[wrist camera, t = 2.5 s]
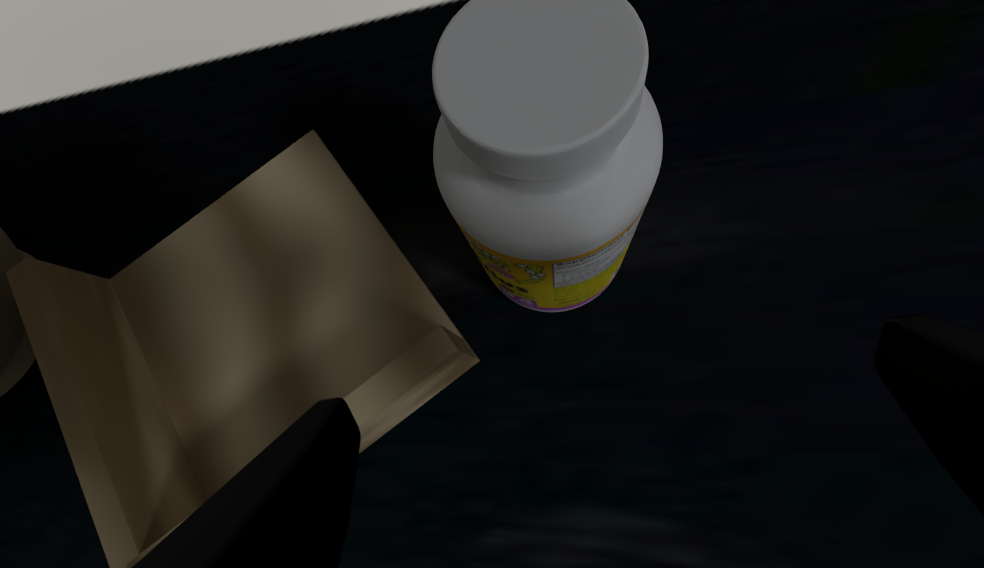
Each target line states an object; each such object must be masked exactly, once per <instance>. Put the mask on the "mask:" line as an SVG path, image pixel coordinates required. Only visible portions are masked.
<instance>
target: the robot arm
mask: <svg viewBox="0 0 984 568" xmlns="http://www.w3.org/2000/svg"><path fill="white" fill-rule="evenodd" d="M874 363H875V368H876V370H877V372H878V374H879V376H880V377H881V379H882V380H883V382H884V383H885V385H886V386H887V388H888V389H889V390H890V392H891V393H892V395H893V396H894V398H895V399H896V401H897V402H898V404H899V405H900V406H901V408H902V409H903V411H904V412H905V414H906V415H907V417H908V418H909V420H910V421H911V422H912V424H913V425H914V427H915V428H916V430H917V431H918V433H919V434H920V436H921V437H922V439H923V440H924V441H925V443H926V444H927V446H928V447H929V449H930V450H931V451H932V453H933V454H934V455H935V457H936V458H937V459H938V461H939V462H940V463H941V465H942V466H943V467H944V468H945V470H946V471H947V472H948V473H949V475H950V476H951V477H952V478H953V479H954V481H955V482H956V483H957V484H958V485H959V487H960V488H961V489H962V490H963V491H964V493H965V494H966V495H967V496H968V497H969V499H970V500H971V501H972V502H973V503H974V505H975V506H976V507H977V508H978V509H979V511H980V512H981V513H982V514H983V515H984V333H982V332H979V331H976V330H973V329H969V328H966V327H963V326H959V325H956V324H953V323H949V322H946V321H943V320H939V319H936V318H933V317H930V316H926V315H922V314H912V315H905V316H898V317H893V318H890V319H888V320H887V321H886V322H885V323H884V325H883V328H882V332H881V335H880V339H879V343H878V346H877V350H876V353H875V358H874ZM360 442H361V434H360V429H359V427H358V425H357V423H356V421H355V418H354V416H353V414H352V412H351V410H350V408H349V406H348V404H347V403H346V401H345V400H344V399H343V398H340V397H336V398H329V399H322V400H320V401H318V402H316V403H315V404H314V405H313V406H312V407H311V408H310V409H309V410H307V411H306V412H305V413H304V414H303V415H302V416H301V417H300V418H298V419H297V420H296V421H295V422H294V423H293V424H292V425H291V426H290V427H288V428H287V429H286V430H285V431H284V432H283V433H282V434H281V435H279V436H278V437H277V438H276V439H275V440H274V441H273V442H272V443H271V444H269V445H268V446H267V447H266V448H265V449H264V450H263V451H262V452H260V453H259V454H258V455H257V456H256V457H255V458H254V459H253V460H252V461H250V462H249V463H248V464H247V465H246V466H245V467H244V468H243V469H241V470H240V471H239V472H238V473H237V474H236V475H235V476H234V477H232V478H231V479H230V480H229V481H228V482H227V483H226V484H225V485H224V486H222V487H221V488H220V489H219V490H218V491H217V492H216V493H215V494H213V495H212V496H211V497H210V498H209V499H208V500H207V501H206V502H204V503H203V504H202V505H201V506H200V507H199V508H198V509H197V510H196V511H194V512H193V513H192V514H191V515H190V516H189V517H188V518H187V519H185V520H184V521H183V522H182V523H181V524H180V525H179V526H178V527H176V528H175V529H174V530H173V531H172V532H171V533H170V534H169V535H168V536H166V537H165V538H164V539H163V540H162V541H161V542H160V543H159V544H157V545H156V546H155V547H154V548H153V549H152V550H151V551H150V552H148V553H147V554H146V555H145V556H144V557H143V558H142V559H141V560H140V561H138V562H137V563H136V564H135V565H134V566H133V567H132V568H338V566H339V562H340V558H341V554H342V550H343V546H344V542H345V538H346V533H347V529H348V524H349V518H350V512H351V506H352V499H353V492H354V485H355V478H356V471H357V464H358V457H359V450H360Z"/></svg>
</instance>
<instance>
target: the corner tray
mask: <svg viewBox="0 0 984 568" xmlns="http://www.w3.org/2000/svg"><path fill="white" fill-rule="evenodd" d="M6 275H7V278H8V280H9V283H10V286H11V289H12V292H13V295H14V297H15V300H16V303H17V306H18V309H19V312H20V314H21V317H22V320H23V323H24V326H25V329H26V331H27V334H28V337H29V340H30V343H31V346H32V348H33V351H34V354H35V357H36V360H37V363H38V365H39V368H40V371H41V374H42V377H43V379H44V382H45V385H46V388H47V391H48V394H49V396H50V399H51V402H52V405H53V408H54V411H55V413H56V416H57V419H58V422H59V425H60V428H61V430H62V433H63V436H64V439H65V442H66V445H67V447H68V450H69V453H70V456H71V459H72V461H73V464H74V467H75V470H76V473H77V476H78V478H79V481H80V484H81V487H82V490H83V493H84V495H85V498H86V501H87V504H88V507H89V510H90V512H91V515H92V518H93V521H94V524H95V527H96V529H97V532H98V535H99V538H100V541H101V544H102V546H103V549H104V552H105V555H106V558H107V560H108V563H109V566H110V568H132V567H133V566H134V565H135V564H136V563H137V562H138V561H140V560H141V559H142V558H143V557H144V556H145V555H146V554H147V553H148V552H150V551H151V550H152V549H153V548H154V547H155V546H156V545H157V544H159V543H160V542H161V541H162V540H163V539H164V538H165V537H166V536H168V535H169V534H170V533H171V532H172V531H173V530H174V529H175V528H176V527H178V526H179V525H180V524H181V523H182V522H183V521H184V520H185V519H187V518H188V517H189V516H190V515H191V514H192V513H193V512H194V511H196V510H197V509H198V508H199V507H200V506H201V505H202V504H203V503H204V502H206V501H207V500H208V499H209V498H210V497H211V496H212V495H213V494H215V493H216V492H217V491H218V490H219V489H220V488H221V487H222V486H224V485H225V484H226V483H227V482H228V481H229V480H230V479H231V478H232V477H234V476H235V475H236V474H237V473H238V472H239V471H240V470H241V469H243V468H244V467H245V466H246V465H247V464H248V463H249V462H250V461H252V460H253V459H254V458H255V457H256V456H257V455H258V454H259V453H260V452H262V451H263V450H264V449H265V448H266V447H267V446H268V445H269V444H271V443H272V442H273V441H274V440H275V439H276V438H277V437H278V436H279V435H281V434H282V433H283V432H284V431H285V430H286V429H287V428H288V427H290V426H291V425H292V424H293V423H294V422H295V421H296V420H297V419H298V418H300V417H301V416H302V415H303V414H304V413H305V412H306V411H307V410H309V409H310V408H311V407H312V406H313V405H314V404H315V403H316V402H318V401H320V400H322V399H329V398H336V397H340V398H343V399H344V400H345V401H346V403H347V404H348V406H349V408H350V410H351V412H352V414H353V416H354V418H355V421H356V423H357V425H358V427H359V429H360V434H361V442H360V450H359V453H361V452H362V451H363V450H364V449H366V448H367V447H368V446H370V445H371V444H372V443H374V442H375V441H376V440H377V439H379V438H380V437H381V436H383V435H384V434H385V433H387V432H388V431H389V430H390V429H392V428H393V427H394V426H396V425H397V424H398V423H400V422H401V421H402V420H403V419H405V418H406V417H407V416H409V415H410V414H411V413H413V412H414V411H415V410H416V409H418V408H419V407H420V406H422V405H423V404H424V403H426V402H427V401H428V400H429V399H431V398H432V397H433V396H435V395H436V394H437V393H439V392H440V391H441V390H443V389H444V388H445V387H446V386H448V385H449V384H450V383H452V382H453V381H454V380H456V379H457V378H458V377H459V376H461V375H462V374H463V373H465V372H466V371H467V370H469V369H470V368H471V367H472V366H474V365H475V364H476V363H478V362H479V361H480V360H479V359H478V357H477V356H476V354H475V353H474V352H473V350H472V349H471V347H470V346H469V345H468V343H467V342H466V341H465V339H464V338H463V336H462V335H461V334H460V332H459V331H458V329H457V328H456V327H455V325H454V324H453V322H452V321H451V320H450V318H449V317H448V315H447V314H446V313H445V311H444V310H443V309H442V307H441V306H440V304H439V303H438V302H437V300H436V299H435V297H434V296H433V295H432V293H431V292H430V290H429V289H428V288H427V286H426V285H425V283H424V282H423V281H422V279H421V278H420V277H419V275H418V274H417V272H416V271H415V270H414V268H413V267H412V265H411V264H410V263H409V261H408V260H407V258H406V257H405V256H404V254H403V253H402V251H401V250H400V249H399V247H398V246H397V245H396V243H395V242H394V240H393V239H392V238H391V236H390V235H389V233H388V232H387V231H386V229H385V228H384V226H383V225H382V224H381V222H380V221H379V219H378V218H377V217H376V215H375V214H374V213H373V211H372V210H371V208H370V207H369V206H368V204H367V203H366V201H365V200H364V199H363V197H362V196H361V194H360V193H359V192H358V190H357V189H356V187H355V186H354V185H353V183H352V182H351V181H350V179H349V178H348V176H347V175H346V174H345V172H344V171H343V169H342V168H341V167H340V165H339V164H338V162H337V161H336V160H335V158H334V157H333V155H332V154H331V153H330V151H329V150H328V148H327V147H326V146H325V144H324V143H323V142H322V140H321V139H320V137H319V136H318V135H317V133H316V132H315V131H314V130H311V131H310V132H309V133H307V134H306V135H304V136H303V137H302V138H300V139H299V140H298V141H296V142H295V143H294V144H292V145H291V146H290V147H288V148H287V149H286V150H284V151H283V152H281V153H280V154H279V155H277V156H276V157H275V158H273V159H272V160H271V161H269V162H268V163H267V164H265V165H264V166H262V167H261V168H260V169H258V170H257V171H256V172H254V173H253V174H252V175H250V176H249V177H248V178H246V179H245V180H243V181H242V182H241V183H239V184H238V185H237V186H235V187H234V188H233V189H231V190H230V191H229V192H227V193H226V194H225V195H223V196H222V197H220V198H219V199H218V200H216V201H215V202H214V203H212V204H211V205H210V206H208V207H207V208H206V209H204V210H203V211H201V212H200V213H199V214H197V215H196V216H195V217H193V218H192V219H191V220H189V221H188V222H187V223H185V224H184V225H182V226H181V227H180V228H178V229H177V230H176V231H174V232H173V233H172V234H170V235H169V236H168V237H166V238H165V239H163V240H162V241H161V242H159V243H158V244H157V245H155V246H154V247H153V248H151V249H150V250H149V251H147V252H146V253H145V254H143V255H142V256H140V257H139V258H138V259H136V260H135V261H134V262H132V263H131V264H130V265H128V266H127V267H126V268H124V269H123V270H121V271H120V272H119V273H117V274H116V275H115V276H113V277H112V278H111V279H106V278H103V277H99V276H95V275H92V274H88V273H84V272H81V271H77V270H73V269H69V268H66V267H62V266H58V265H55V264H51V263H47V262H44V261H40V260H36V259H33V258H29V257H26V258H25V259H23V260H22V261H20V262H19V263H18V264H16V265H15V266H14V267H12V268H11V269H10V270H8V271H7V272H6Z"/></svg>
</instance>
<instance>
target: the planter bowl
mask: <svg viewBox="0 0 984 568" xmlns="http://www.w3.org/2000/svg"><path fill="white" fill-rule="evenodd" d="M26 257H29V258H33V259H35V258H34V257H33V256H31V255H29V254H27V253H25V252H23V251H21V250H19V249H17V248H16V247H15V245H14V244H13V242H12V241H11V240H10V239H9V237H8V236H7V235H6V233H5V232H4V231H3V229H2V228H1V227H0V397H1V396H2V395H4V394H5V393H6V392H7V391H8V390H10V389H11V388H12V387H13V386H14V385H15V384H16V383H17V382H18V381H19V380H20V379H21V378H22V377H23V376H24V374H25V373H26V372H27V371H28V369H29V368H30V367H31V365H32V364H33V362H34V360H35V359H36V357H35V354H34V351H33V348H32V346H31V343H30V340H29V337H28V334H27V331H26V329H25V326H24V323H23V320H22V317H21V314H20V312H19V309H18V306H17V303H16V300H15V297H14V295H13V292H12V289H11V286H10V283H9V280H8V278H7V275H6V272H7V271H8V270H10V269H11V268H12V267H14V266H15V265H16V264H18V263H19V262H20V261H22V260H23V259H25V258H26Z"/></svg>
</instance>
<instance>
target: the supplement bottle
mask: <svg viewBox="0 0 984 568" xmlns="http://www.w3.org/2000/svg"><path fill="white" fill-rule="evenodd" d="M647 67H648V43H647V38H646V33H645V30H644V27H643V24H642V22H641V20H640V18H639V17H638V15H637V13H636V11H635V10H634V8H633V7H632V6H631V4H630V3H629V2H628V1H627V0H470V1H469V2H468V3H467V4H466V5H465V6H464V7H463V8H462V9H461V10H460V11H459V12H458V13H457V14H456V15H455V16H454V17H453V18H452V20H451V21H450V22H449V24H448V25H447V27H446V29H445V30H444V32H443V34H442V36H441V38H440V40H439V43H438V45H437V48H436V51H435V55H434V60H433V67H432V80H433V89H434V93H435V97H436V100H437V103H438V106H439V108H440V111H441V113H442V114H441V117H440V119H439V122H438V125H437V129H436V132H435V139H434V147H433V164H434V170H435V176H436V180H437V184H438V187H439V189H440V192H441V195H442V197H443V199H444V201H445V203H446V205H447V207H448V209H449V210H450V212H451V214H452V216H453V217H454V219H455V221H456V222H457V224H458V225H459V227H460V229H461V230H462V232H463V233H464V235H465V237H466V239H467V240H468V242H469V244H470V245H471V247H472V249H473V250H474V252H475V254H476V256H477V257H478V259H479V260H480V262H481V264H482V265H483V267H484V269H485V270H486V272H487V274H488V275H489V277H490V278H491V280H492V281H493V282H494V284H495V285H496V286H497V288H498V289H499V290H500V291H501V292H502V293H503V294H504V295H506V296H507V297H508V298H509V299H511V300H512V301H514V302H516V303H517V304H519V305H521V306H524V307H526V308H529V309H533V310H537V311H543V312H561V311H567V310H571V309H574V308H578V307H580V306H582V305H584V304H586V303H588V302H590V301H591V300H593V299H594V298H596V297H597V296H598V295H600V294H601V293H602V292H603V291H604V290H605V289H606V288H607V286H608V285H609V284H610V283H611V281H612V280H613V278H614V277H615V275H616V273H617V271H618V269H619V268H620V265H621V263H622V260H623V258H624V256H625V253H626V251H627V249H628V247H629V244H630V241H631V239H632V237H633V234H634V232H635V230H636V227H637V225H638V223H639V220H640V217H641V215H642V213H643V211H644V209H645V206H646V204H647V201H648V199H649V197H650V195H651V193H652V190H653V187H654V185H655V182H656V179H657V176H658V173H659V169H660V165H661V160H662V149H663V135H662V127H661V121H660V118H659V114H658V111H657V108H656V106H655V104H654V101H653V99H652V97H651V95H650V93H649V92H648V90H647V89H646V87H645V86H644V83H645V78H646V72H647Z"/></svg>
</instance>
